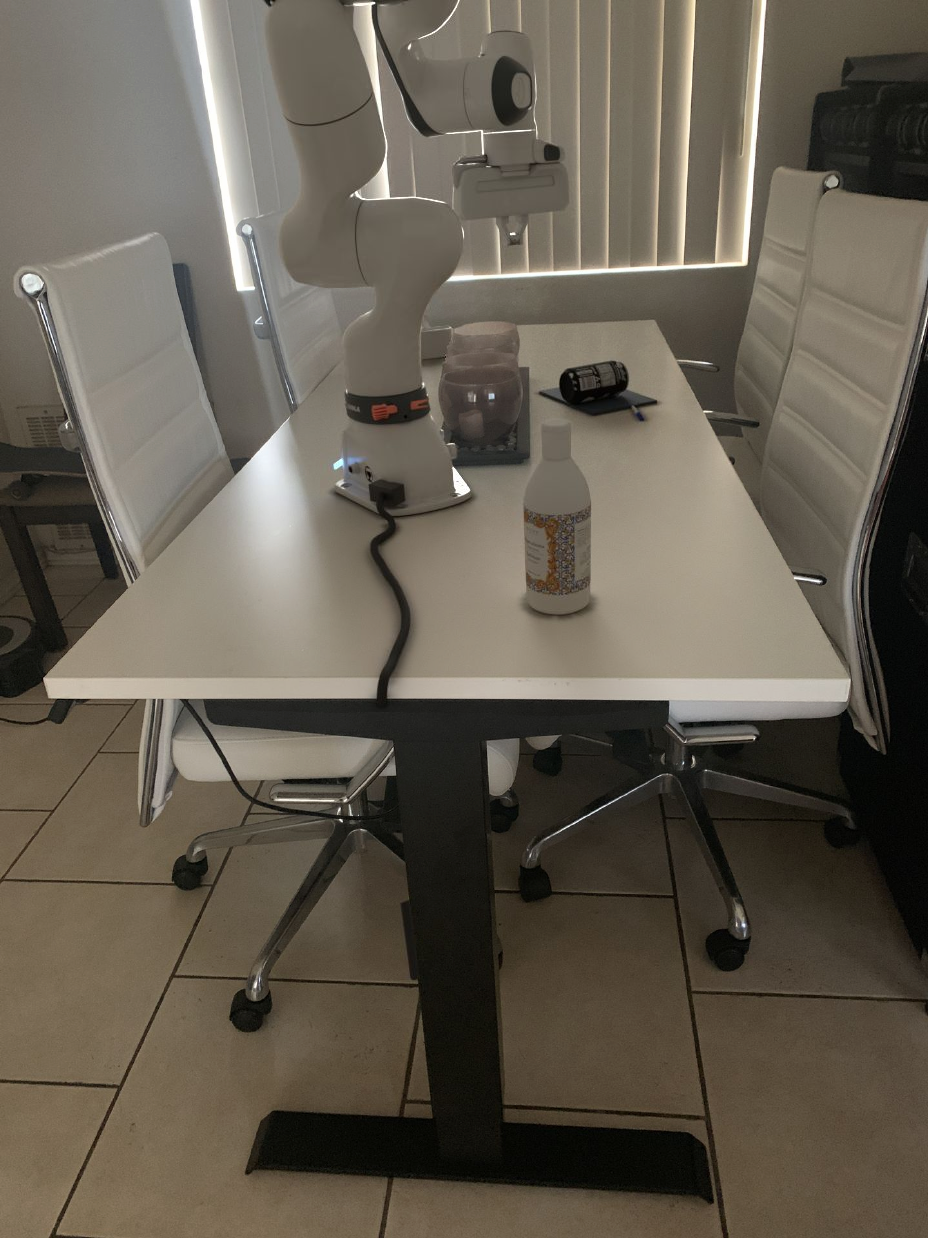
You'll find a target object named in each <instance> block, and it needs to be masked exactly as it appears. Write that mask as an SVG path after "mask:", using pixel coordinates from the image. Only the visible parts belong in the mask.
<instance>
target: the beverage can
mask: <svg viewBox="0 0 928 1238" xmlns="http://www.w3.org/2000/svg"><path fill="white" fill-rule="evenodd" d="M629 384H630V373H629V370H628V367H627V366H626V365H625V363H624V362H622V361H616V360H613V359H611V360H607V361H606V360H605V361H601V362H595V363H589V364H584V365H578V366H573V367H572V366H571V367H568V368H565V369H564V370H563V371H562V373H561V374H560V376H559V380H558V387H559V389H560V393H561V396H562V397H563V399H564V400H565V401H566V402H568V403H569V404H577V403H582V402H587V401H592V400H597V399H602V398H607V397H612V396H617V395H619V394H620V393H621V392H624V391H625V390H628V387H629Z"/></svg>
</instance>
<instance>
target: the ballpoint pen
mask: <svg viewBox="0 0 928 1238" xmlns="http://www.w3.org/2000/svg"><path fill="white" fill-rule="evenodd" d="M630 409H632V411H633V412H634V414H635V416H636V417H637V418H638V420H639V421H640V422H644V421H645V419H644V416H643V415H642V413H641V412H640V411H639V410H638V409H637V407H634V406H632V407H631V408H630Z"/></svg>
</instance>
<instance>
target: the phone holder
mask: <svg viewBox="0 0 928 1238" xmlns="http://www.w3.org/2000/svg"><path fill="white" fill-rule="evenodd" d="M452 329H453V328H452V327H451V326H449V325H439V326H431V325H430V322H429V321H428V319H427V315H426V314H425V315H424V319H423V323H422V328H421V361H422V360H430V359H437V358H445V355H446V354H447V346H448V345H449V342H450V341H451V338H452V339H453V330H452Z"/></svg>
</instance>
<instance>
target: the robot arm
mask: <svg viewBox="0 0 928 1238" xmlns="http://www.w3.org/2000/svg"><path fill="white" fill-rule="evenodd" d="M262 1H263V2H264V4H265V5H266V6H267V7H268V9H267V12H266V15H265V18H264V22H263V23H264V24H263V32H264V39H265V40H264V41H265V47H266V54H267V58H268V63H269V68H270V72H271V77H272V82H273V86H274V89H275V92H276V93H275V94H276V96H277V100H278V103H279V106H280V110H281V112H282V115H283V118H284V121H285V124H286V127H287V131H288V133H289V136H290V139H291V143H292V146H293V150H294V154H295V157H296V161H297V165H298V169H299V177H300V183H299V185H300V186H299V187H300V188H299V193H298V196H297V199H296V201H295V203H294V205H293V206H292V208H291V209H289V211H288V212H287V213H286V214H285V215H284V217H283V218H282V221H281V223H280V226H279V228H278V234H277V251H278V255H279V259H280V262H281V264H282V266H283V268H284V270H285V272H287V274H288V275H289V276H290V278H291V279H292V280H294V281H295V282H296V283H298V284H303V285H307V286H312V287H318V288H324V289H359V288H372V289H374V293H375V296H374V297H375V299H374V305H373V308H372V309H371V310H369V311H367V312H366V313H364V314H362V315H360V316H359V317H358V318H357V319H355V320H353V321H352V322H351V323H350V324H349V325H348V326H347V327H346V329H345V330H344V333H343V335H342V338H341V351H342V361H343V369H344V375H345V376H344V377H345V384H346V389H345V390H344V406H345V410H346V411H345V412H346V415H347V417H348V421H347V423H346V426H345V427H344V428H343V430H342V431H341V433H340V435H339V439H340V440H339V441H340V453H341V458H340V459H339V460H337V461H336V462H335V463H333V470H337V469H339V468H341V466H342V479H340V480H338V481H337V482H336V483H335V484H334V491H335V493H337V494H339V495H341V496H343V497H345V498H347V499H348V500H351V501H353V502H354V503H357V504H359V505H361V506H362V507H364V508H367V509H368V510H370V511H372V512H374V513H376V514H378V515H379V516H380V517H382V519H384V520H385V521H386V522H387V524H388V527H387V528H386V529H385V530H384V531H383V532H381V533H379V534H377V535H376V536H375V537H374V538H373V539H371V541H370V546H369V551H370V554H371V557H372V559H373V560H374V562H375V564H376V565H377V566H378V568H379V570H380V572H381V574H382V575H383V577H384V579H385V580H386V581H387V583H388V584H389V586H390V587H391V589H392V591H393V593H394V596H395V598H396V601H397V603H398V606H399V607H398V608H399V611H400V627H399V632H398V635H397V636H396V640H395V642H394V644H393V645H392V648H391V650H390V653H389V657H388V658H387V660H386V663H385V665H383V667H382V669H381V672H380V674H379V677H378V681H377V687H376V699H375V700H376V701H375V705H376V708H377V709H378V710H383V709H386V708H387V706H388V690H389V689H388V688H389V682H390V678H391V676H392V674H393V672H394V671H395V669H396V667H397V666H398V662H399V660H400V657H401V654H402V652H403V649H404V647H405V644H406V642H407V639H408V636H409V632H410V628H411V611H410V607H409V603H408V600H407V597H406V595H405V593H404V590H403V588H402V587H401V584H400V583H399V581H398V580H397V579H396V576H394V574H393V572H392V571H391V570H390V568H389V567H388V565H387V563H386V560H385V559H384V557H382V555H381V553H380V551H379V544H380V543H382V542H384V541H386V540H387V539H389V538H390V537H391V536H393V535H394V533H395V531H396V530H397V529H396V528H397V523H396V519H395V518H394V517H399V516H401V517H402V516H409V515H416V514H422V513H427V512H431V511H436V510H440V509H445V508H448V507H453V506H456V505H459V504H461V503H462V502H465V501H467V500H469V499H470V498H472V497H473V496H472V495H473V494H472V490H471V489H470V487H469V486H468V485H467V483H466V481H465V480H464V479H463V478H462V476H461V475H460V474H459V472H458V470H457V469H456V468H455V467H454V464H453V460H456V459H457V458H458V450H457V446H456V444H455V443H454V442H451V443H446V441H445V431H444V430H443V429H439V428H438V426H437V424H436V422H435V420H434V416H432V415H431V413H430V412H431V404H430V398H429V393H428V391H427V386H426V384H425V382H423V371H422V360H421V328H422V323H423V319H424V315H425V316H426V312H427V310H428V307H429V305H430V303H431V301H432V299H433V298H434V296H435V295H436V294H437V292H438V291H439V289H440V288H441V287H442V286H443V285H444V284H445V283H446V282H447V281H448V280H450V279H451V278H452V276H453V275H454V274H455V273H456V271H457V269H458V268H459V266H460V264H461V262H462V259H463V256H464V252H465V234H464V229H463V226H462V222H461V221H463V222H464V221H465V222H466V221H467V222H468V221H475V220H484V219H495V225H496V227H497V229H498V230H499V233H500V234H501V236H502V245H503V247H514V246H522V245H523V244H524V237H523V236H524V235H523V234H524V233H525V230H526V228H527V226H528V224H529V215H533V214H534V215H535V214H544V213H552V212H564V211H566V209H567V208H568V205H569V203H570V183H569V182H570V181H569V173H568V169H567V167H566V166H565V164H564V163H562V162H563V161H565V159H566V149H565V147H564V146H562V145H559V144H556V143H552V142H550V141H546V140H545V139H541V138H538V126H537V122H536V118H535V107H536V102H537V80H536V79H537V77H536V67H535V57H534V52H533V46H532V41H531V38H530V37H529V36H528V35H526V34H525V33H523V32H521V31H517V30H509V29H508V30H506V29H505V30H496V31H492V32H490V33H487V34H486V35H484V36H483V38H482V41H481V44H480V53H479V54H478V56H472V57H471V56H470V57H463V58H453V59H445V60H444V59H443V60H441V59H433V58H430V57H429V58H428V57H427V56H425V54H424V51H423V48H422V45H421V44H420V41H419V40H420V39H423V38H425V37H427V36H430V35H432V34H434V33H436V32H437V31H439V30H440V29H441V28H442V27H443V26H444V25H445V24H447V22H448V21H449V19H450V18H451V16H452V15H453V14H454V12H455V11H456V8H457V7H458V4H459V3H460V0H262ZM367 5H370V6H371V10H370V11H371V12H370V13H371V23H372V27H373V30H374V33H375V37H376V39H377V40H376V41H377V42H378V45H379V47H380V50H381V52H382V54H383V57H384V59H385V61H386V63H387V66H388V68H389V70H390V72H391V75H392V77H393V79H394V81H395V84H396V85H397V88H398V90H399V92H400V93H399V94H400V95H401V99H402V104H403V108H404V112H405V115H406V118H407V120H408V121H409V123H410V124H411V126H412V127H413V129H415V130H416V131H417V132H418V133H419V134H420V135H421V136H423V137H425V138H428V139H429V138H430V139H431V138H435V137H441V136H446V135H450V134H460V133H461V134H463V133H475V132H481V148H482V149H481V150H482V154H477V155H472V156H471V155H470V156H468V155H466V156H465V155H463V156H460V157H459V158H458V159H457V160H456V161H454V163H453V165H452V167H451V181H452V184H453V187H452V189H453V190H452V206H450V205H449V204H448V203H447V202H445V201H440V200H436V199H435V200H434V199H430V198H423V197H416V196H408V197H407V196H406V197H405V196H403V197H388V198H387V197H386V198H369V199H368V198H362V197H361V196H360V195H359V193H358V191H360V190H361V189H364V188H365V187H366V186H367V185H368V184H369V183H371V182H372V181H373V180H374V179H375V178H376V176H378V174H379V173H380V171H381V170H382V168H383V166H384V164H385V161H386V159H387V152H388V142H387V138H386V133H385V130H384V125H383V122H382V121H383V120H382V118H381V114H380V110H379V106H378V102H377V98H376V94H375V89H374V86H373V82H372V78H371V74H370V71H369V68H368V64H367V62H366V59H365V55H364V52H363V50H362V47H361V44H360V41H359V38H358V36H357V34H356V31H355V29H354V14H355V13H354V12H355V6H367ZM510 217H514V219H515V223H517V224H516V227H515V230H514V232H512V233H511V232H510V230H509V227H508V225H509V223H510ZM400 911H401V918H402V925H403V933H404V939H405V949H406V956H407V963H408V970H409V978H410V980H412V981H416V980H418V979H419V978H420V972H419V971H420V970H419V964H418V956H417V948H416V939H415V931H414V924H413V916H412V907H411V901H410V899H407V900H405V901H403V902H400Z"/></svg>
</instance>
